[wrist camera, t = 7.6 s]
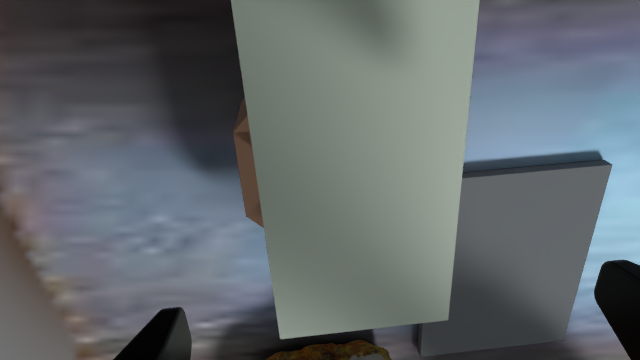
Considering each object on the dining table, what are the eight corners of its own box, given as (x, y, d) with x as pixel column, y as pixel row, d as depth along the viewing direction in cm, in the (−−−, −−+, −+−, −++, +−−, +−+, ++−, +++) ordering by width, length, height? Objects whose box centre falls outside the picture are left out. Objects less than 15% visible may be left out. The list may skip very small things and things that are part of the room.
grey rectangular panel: (557, 333, 27) (563, 340, 26) (417, 348, 26) (420, 356, 26) (603, 159, 21) (612, 164, 21) (428, 175, 21) (432, 181, 20)
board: (431, 285, 18) (447, 319, 16) (279, 302, 18) (280, 339, 16) (453, -25, 13) (481, -24, 11) (236, -9, 12) (230, -5, 11)
